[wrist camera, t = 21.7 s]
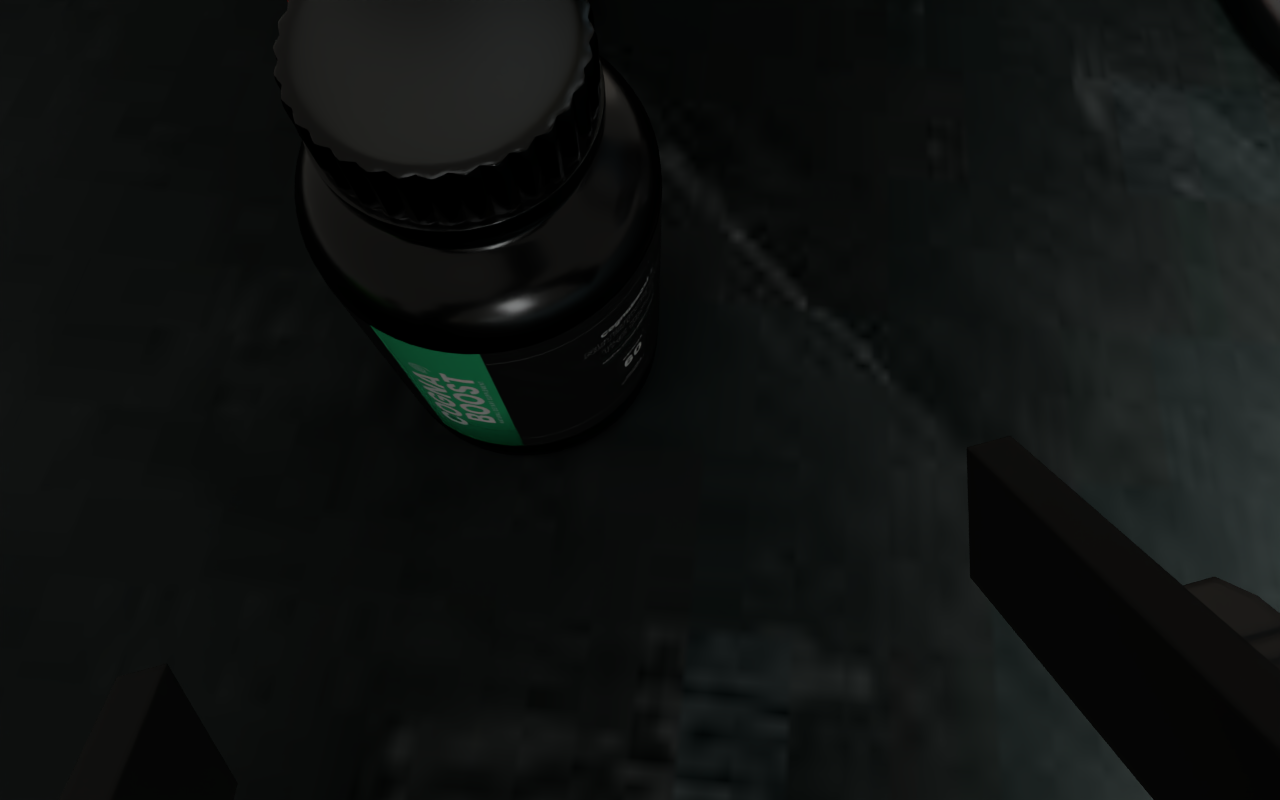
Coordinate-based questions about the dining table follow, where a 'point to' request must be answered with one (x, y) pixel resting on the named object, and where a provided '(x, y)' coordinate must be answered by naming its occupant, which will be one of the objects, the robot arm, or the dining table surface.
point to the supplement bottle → (481, 206)
